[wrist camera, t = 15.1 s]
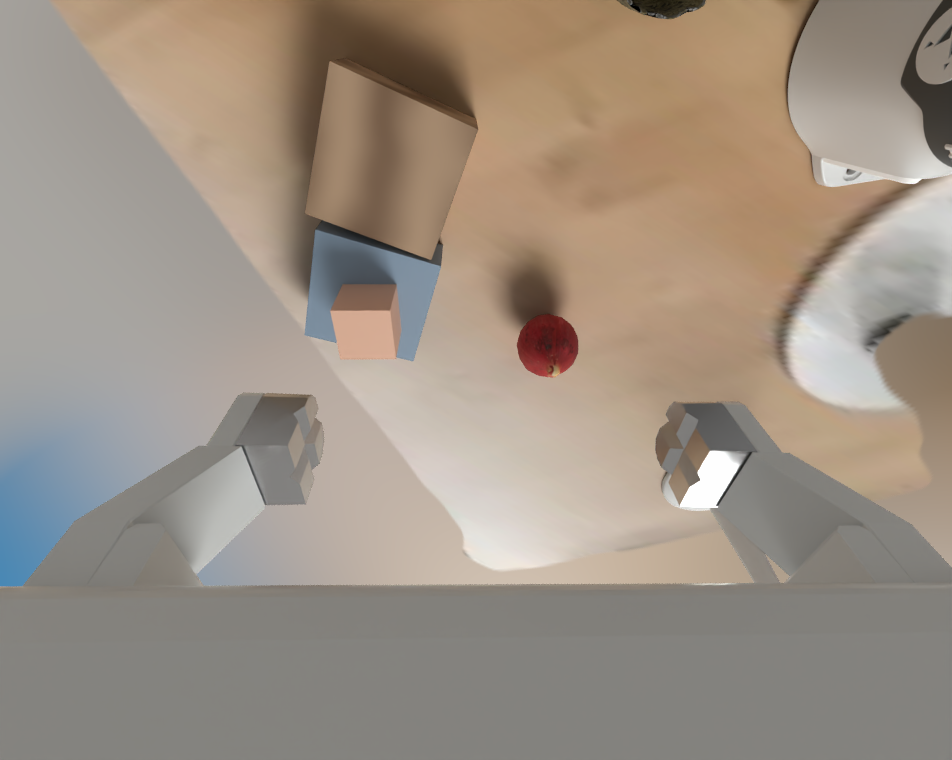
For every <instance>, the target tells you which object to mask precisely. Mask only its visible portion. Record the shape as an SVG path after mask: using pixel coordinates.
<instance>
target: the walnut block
mask: <svg viewBox="0 0 952 760" xmlns="http://www.w3.org/2000/svg"><path fill="white" fill-rule="evenodd" d="M477 131H478V126H477V121H476V119H475V118H473V117H470V116H468V115H466V114H464V113H462V112H460V111H458V110H455V109H453V108H451V107H449V106H447V105H445V104H443V103H440V102H438V101H436V100H434V99H432V98H430V97H428V96H425V95H423V94H421V93H419V92H417V91H415V90H413V89H410V88H408V87H406V86H404V85H402V84H400V83H398V82H395V81H393V80H391V79H389V78H387V77H385V76H383V75H380V74H378V73H376V72H374V71H372V70H370V69H368V68H365V67H363V66H361V65H359V64H357V63H355V62H353V61H351V60H348V59H346V58H343V59H338V60H332V61H330V62H329V68H328V74H327V80H326V86H325V92H324V98H323V104H322V110H321V116H320V123H319V129H318V135H317V141H316V147H315V153H314V159H313V165H312V171H311V177H310V184H309V190H308V196H307V202H306V208H305V214H307V215H310V216H312V217H315V218H318V219H321V220H323V221H326V222H329V223H331V224H334V225H337V226H340V227H342V228H345V229H348V230H350V231H353V232H356V233H359V234H361V235H364V236H367V237H370V238H372V239H375V240H378V241H380V242H383V243H386V244H389V245H391V246H394V247H397V248H399V249H402V250H405V251H408V252H410V253H413V254H416V255H418V256H421V257H424V258H427V259H429V260H431V259H432V257H433V254H434V251H435V248H436V245H437V243H438V240H439V237H440V234H441V232H442V229H443V226H444V223H445V220H446V218H447V215H448V212H449V209H450V206H451V204H452V201H453V198H454V195H455V193H456V190H457V187H458V184H459V181H460V179H461V176H462V173H463V170H464V167H465V165H466V162H467V159H468V156H469V154H470V151H471V148H472V145H473V142H474V140H475V137H476V134H477Z"/></svg>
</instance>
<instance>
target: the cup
mask: <svg viewBox="0 0 952 760" xmlns="http://www.w3.org/2000/svg"><path fill="white" fill-rule="evenodd" d="M617 1H618V2H620V3H621V4H622V5H624V6H625V7H627V8H629V9H631V10H634V11H636V12H639V13H641V14H643V15H648V16H652V17H656V18H661V19H673V18H677V17H679V16H681V15H682V14H684V13H686V12H692V11H695V10H697V9H699V8H701V7H703V6H704V5H705V1H706V0H617Z"/></svg>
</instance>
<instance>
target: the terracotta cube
mask: <svg viewBox="0 0 952 760" xmlns="http://www.w3.org/2000/svg"><path fill="white" fill-rule="evenodd" d="M330 312H331V317H332V322H333V326H334V331H335V336H336V340H337V345H338V350H339V354H340V359H396V356H397V351H398V346H399V341H400V336H401V331H402V330H401V320H400V311H399V301H398V292H397V284H343V285H342V287H341V289H340V291H339V293H338V295H337V297H336V299H335V301H334V304H333V306H332V308H331V310H330Z"/></svg>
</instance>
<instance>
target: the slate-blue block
mask: <svg viewBox="0 0 952 760" xmlns="http://www.w3.org/2000/svg"><path fill="white" fill-rule="evenodd" d="M442 248H443V245H441V244H438V243H437V245H436V248H435V251H434V254H433V257H432V259H431V260H429V259H427V258H424V257H421V256H418V255H416V254H413V253H410V252H408V251H405V250H402V249H399V248H397V247H394V246H391V245H389V244H386V243H383V242H380V241H378V240H375V239H372V238H370V237H367V236H364V235H361V234H359V233H356V232H353V231H350V230H348V229H345V228H342V227H340V226H337V225H334V224H331V223H329V222H326V221H323V220H322V222H321V223H320V224H319V226H318V227H317V228H316V229H315V238H314V248H313V258H312V268H311V278H310V288H309V297H308V307H307V317H306V327H305V335H306V336H310V337H314V338H318V339H323V340H327V341H331V342H335V343H337V340H336V336H335V331H334V326H333V322H332V317H331V312H330V310H331V308H332V306H333V304H334V301H335V299H336V297H337V295H338V293H339V291H340V289H341V287H342V285H343V284H397V292H398V301H399V311H400V320H401V330H402V331H401V336H400V341H399V346H398V351H397V356H396V357H397V358H401V359H406V360H410V361H414V357H415V354H416V350H417V347H418V343H419V340H420V337H421V333H422V330H423V326H424V323H425V319H426V316H427V313H428V309H429V306H430V302H431V299H432V295H433V292H434V289H435V285H436V282H437V278H438V275H439V271H440V268H441V260H442Z"/></svg>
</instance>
